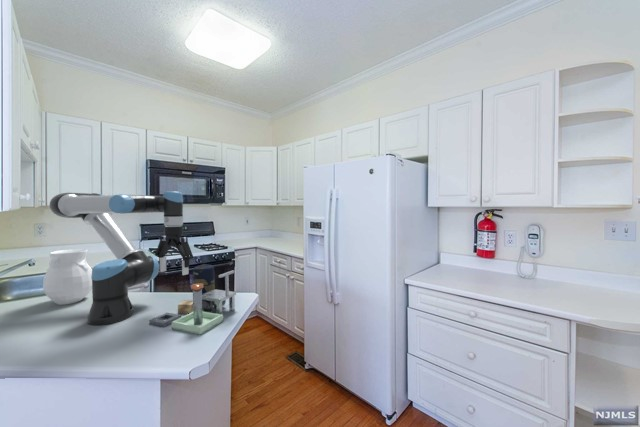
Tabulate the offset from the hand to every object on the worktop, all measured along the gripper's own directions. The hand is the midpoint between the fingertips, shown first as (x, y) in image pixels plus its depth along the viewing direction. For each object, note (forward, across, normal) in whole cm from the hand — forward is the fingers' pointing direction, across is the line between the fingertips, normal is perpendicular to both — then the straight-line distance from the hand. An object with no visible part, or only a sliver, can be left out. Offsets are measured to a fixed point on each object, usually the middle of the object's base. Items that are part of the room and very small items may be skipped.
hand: (174, 273), depth 119 cm
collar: (+16, +8, -10) cm, 21 cm away
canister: (+17, +4, +14) cm, 22 cm away
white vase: (+18, -58, -10) cm, 61 cm away
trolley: (+16, +20, +5) cm, 26 cm away
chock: (+17, +7, +1) cm, 18 cm away
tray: (+16, +22, -8) cm, 29 cm away
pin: (+16, +22, -8) cm, 29 cm away
